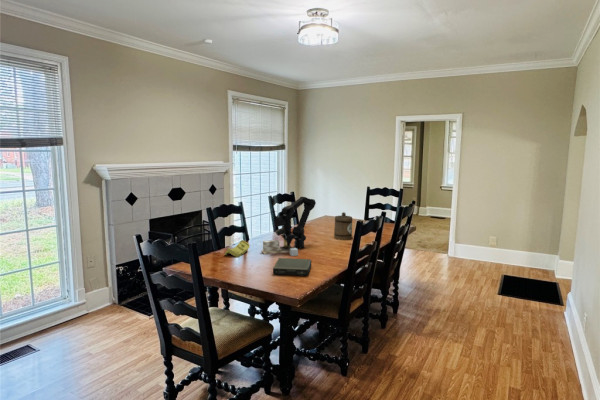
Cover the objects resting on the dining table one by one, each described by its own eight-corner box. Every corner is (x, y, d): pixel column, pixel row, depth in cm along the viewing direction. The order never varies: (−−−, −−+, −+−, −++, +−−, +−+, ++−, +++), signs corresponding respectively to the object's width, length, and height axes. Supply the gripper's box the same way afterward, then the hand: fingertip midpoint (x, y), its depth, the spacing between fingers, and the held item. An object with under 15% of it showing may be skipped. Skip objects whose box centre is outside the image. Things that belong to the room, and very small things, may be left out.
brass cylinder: (289, 246, 275) (289, 238, 274) (291, 248, 271) (291, 240, 270) (282, 247, 273) (282, 239, 273) (284, 248, 269) (284, 240, 268)
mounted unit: (291, 248, 278) (291, 238, 277) (295, 251, 270) (295, 240, 269) (261, 251, 270) (261, 240, 269) (264, 254, 262) (264, 242, 261)
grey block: (295, 254, 264) (295, 247, 264) (297, 255, 260) (297, 249, 260) (289, 254, 263) (289, 248, 262) (291, 256, 259) (291, 249, 258)
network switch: (311, 265, 240) (311, 257, 239) (313, 277, 216) (313, 269, 216) (274, 265, 239) (274, 257, 238) (272, 277, 216) (272, 268, 215)
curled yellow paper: (238, 254, 253) (226, 247, 255) (234, 263, 256) (223, 255, 258) (252, 245, 271) (240, 238, 274) (248, 253, 274) (237, 246, 276)
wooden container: (352, 240, 307) (353, 214, 305) (334, 240, 308) (335, 213, 305) (350, 236, 322) (351, 211, 319) (333, 236, 322) (334, 210, 320)
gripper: (272, 223, 276) (272, 243, 278) (280, 227, 258) (280, 249, 260) (287, 222, 280) (287, 242, 282) (295, 226, 262) (295, 248, 264)
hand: (287, 245), depth 272 cm, fingers open, 5 cm apart
